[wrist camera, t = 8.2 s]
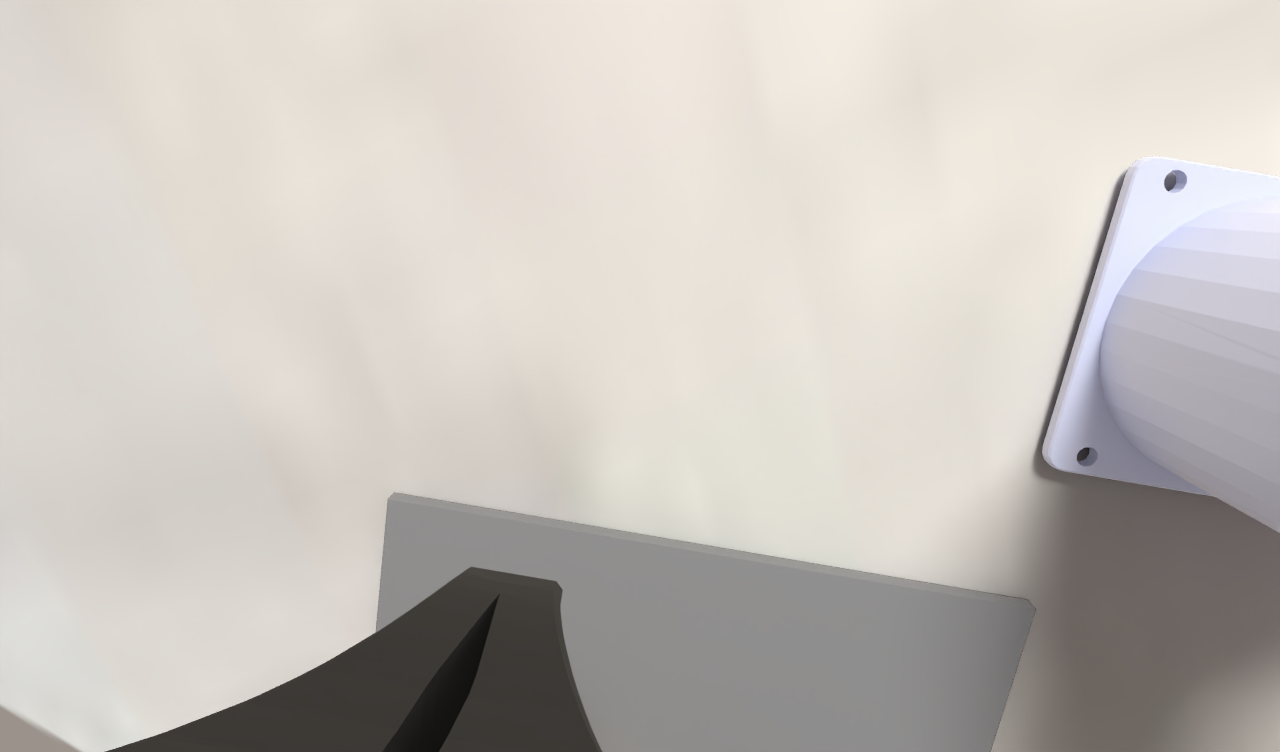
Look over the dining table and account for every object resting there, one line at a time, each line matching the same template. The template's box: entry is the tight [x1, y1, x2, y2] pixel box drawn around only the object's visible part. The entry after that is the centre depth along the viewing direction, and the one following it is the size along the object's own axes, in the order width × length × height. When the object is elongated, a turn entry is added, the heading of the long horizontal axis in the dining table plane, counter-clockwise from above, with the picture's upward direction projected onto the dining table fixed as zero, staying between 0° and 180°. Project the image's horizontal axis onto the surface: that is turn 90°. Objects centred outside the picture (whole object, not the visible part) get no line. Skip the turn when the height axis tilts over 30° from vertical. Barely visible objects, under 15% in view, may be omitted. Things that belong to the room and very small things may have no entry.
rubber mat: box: [376, 492, 1036, 752], centre depth 23 cm, size 18×12×1 cm, turn 81°
